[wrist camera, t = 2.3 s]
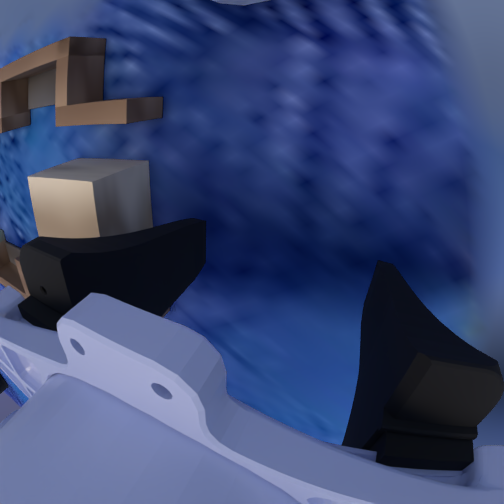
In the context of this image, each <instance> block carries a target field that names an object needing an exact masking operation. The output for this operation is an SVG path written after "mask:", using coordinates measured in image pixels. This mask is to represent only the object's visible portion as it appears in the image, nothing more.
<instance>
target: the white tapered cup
mask: <svg viewBox="0 0 504 504" xmlns="http://www.w3.org/2000/svg"><path fill="white" fill-rule="evenodd" d="M212 1H215V2H218V3H222V4H234V5H243V6H244V5H249V4H253V3H258V2H263V1H269V0H212Z"/></svg>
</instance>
